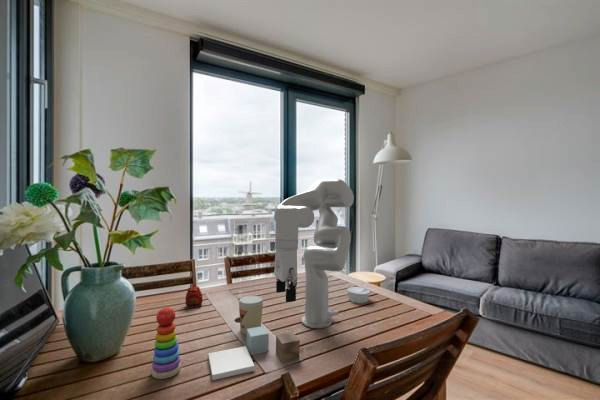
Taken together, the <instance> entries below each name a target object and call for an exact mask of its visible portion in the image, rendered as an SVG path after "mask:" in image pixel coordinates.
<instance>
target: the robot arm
mask: <svg viewBox="0 0 600 400" xmlns="http://www.w3.org/2000/svg"><path fill="white" fill-rule="evenodd" d="M354 199H355V196H354V192H353V190H352V189H351V188H350V186H349V185H348V184H347V183H346V181H344V180H343V179H340V178H330V179H329V178H327V179H326V178H322V179H318V180H316V181H315V182H314V183H313V184H312V185H310V187H309V188H308V189H306V191H303V192H301V193H297V194H295V195H292V196H290V197H288V198H286V199H284V200H283V201H282V202H281V203H280V204H279V205H278V206H277V207H276V208H275V211H274V214H273V219H274V223H275V231H274V232H275V234H274V235H275V238H274V239H275V240H274V241H275V242H274V243H275V245H274V249H275V252H274V253H275V256H274V268H273V275H274V276H275V277H276V284H275V286H276V288H275V289H276V290H275V292H276V293H285V302H286V303H292V302H296V301H297V288H298V287H297V285H298V257H297V250H298V249H299V228H300V229H301V228H302V229H304V228H309V227H311V226H312V225H313V223H314V222H315V213H314V211H317V210H318V215H319V219H318V222H317V225H316V228H315V230H314V234H313V242H314V244H315V245H310V246H307V247H306V248H305V249H304V251H303V264H304V271H305V287H304V288H305V292H304V293H305V294H304V295H305V297H304V301H305V302H304V306H305V307H304V315H303V316H301V320H300V321H301V324H302V325H303V326H306V327H308V328H311V329H324V328H328V327H330V326H331V325H332V322H333V320H332V317H336V316H339V311H338V310H334V311H333V309H329V277H328V275H327V273H326V272H325V271H327V272H328V271H329V272H336V273H337V272H338V273H339V272H342V271H343V270H344V268H345V267H346V263H347V259H348V255H349V250H350V245H351V239H352V237H351V236H352V235H351V231H350V229H349V228H348V227H347V226H344V225H338V223H339V218H338V216H337V214H336V213H335V211H333V209H332V208H347V209H348V208H350V207H352V205H353V204H354V201H355V200H354Z"/></svg>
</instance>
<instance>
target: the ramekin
mask: <svg viewBox="0 0 600 400" xmlns="http://www.w3.org/2000/svg"><path fill="white" fill-rule="evenodd" d="M346 291H347V297H348V300H349V302H351V303H354V302H355V303H354V304H366V303H368V301H369V298H370V293H371V292H370V290H369V289H368V288H366V287H363V286H362V287H361V286H350V287H347V290H346ZM365 302H366V303H365Z"/></svg>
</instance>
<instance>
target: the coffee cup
mask: <svg viewBox="0 0 600 400" xmlns="http://www.w3.org/2000/svg"><path fill="white" fill-rule="evenodd" d="M263 303H264V300H263V297H261V296H259V295H252V294H251V295H244V296H243V297H240V298H239V300H238V308H239V309H238V311H239V327H240V328H239V329H240V333H242V334H243V335H246V336H247V329H249V328H255V327H260V326H262V319H263V318H262V317H263V315H262V314H263V305H264V304H263Z"/></svg>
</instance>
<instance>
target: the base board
mask: <svg viewBox="0 0 600 400" xmlns="http://www.w3.org/2000/svg"><path fill="white" fill-rule="evenodd" d="M208 363H209V364H208V365H209V368H210V375H211V381H216V380H219V379H220V380H221V379H223V378H224V379H225V378H228V377H232V376H237V375H241V374H245V373H250V372H254V371H255V364H254V362H253V359H252V357H251V354H250V352H249V350H248V348H247V345H245V346H240V347H235V348H234V347H233V348H229V349H225V350H218V351H213V352H208Z"/></svg>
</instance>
